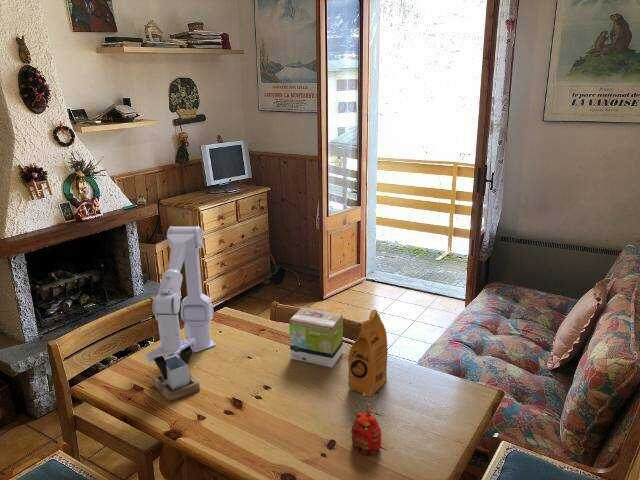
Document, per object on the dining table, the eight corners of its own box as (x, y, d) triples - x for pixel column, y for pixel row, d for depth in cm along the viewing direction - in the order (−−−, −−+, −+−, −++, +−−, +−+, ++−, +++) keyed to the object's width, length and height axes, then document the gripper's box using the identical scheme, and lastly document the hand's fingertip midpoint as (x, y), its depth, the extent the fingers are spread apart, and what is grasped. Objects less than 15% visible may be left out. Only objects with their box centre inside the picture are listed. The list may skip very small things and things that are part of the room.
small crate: (162, 378, 156) (159, 360, 154) (179, 371, 159) (176, 354, 157) (172, 390, 150) (169, 372, 148) (190, 383, 153) (188, 365, 151)
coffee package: (342, 389, 153) (341, 321, 146) (362, 369, 163) (363, 305, 156) (372, 399, 148) (373, 329, 141) (391, 378, 158) (393, 312, 151)
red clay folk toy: (346, 449, 128) (346, 397, 124) (359, 433, 134) (359, 382, 129) (374, 460, 124) (375, 407, 120) (386, 443, 130) (387, 391, 125)
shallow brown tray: (153, 384, 157) (152, 377, 156) (182, 373, 163) (182, 366, 162) (169, 402, 148) (168, 395, 147) (200, 390, 154) (199, 383, 153)
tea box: (289, 360, 169) (287, 318, 165) (302, 345, 178) (300, 306, 173) (333, 368, 164) (332, 326, 159) (343, 353, 172) (343, 312, 168)
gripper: (150, 346, 143) (156, 389, 147) (199, 330, 151) (203, 371, 155) (141, 337, 148) (147, 378, 152) (188, 322, 156) (193, 362, 161)
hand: (174, 374), depth 154 cm, fingers closed on small crate, 5 cm apart
